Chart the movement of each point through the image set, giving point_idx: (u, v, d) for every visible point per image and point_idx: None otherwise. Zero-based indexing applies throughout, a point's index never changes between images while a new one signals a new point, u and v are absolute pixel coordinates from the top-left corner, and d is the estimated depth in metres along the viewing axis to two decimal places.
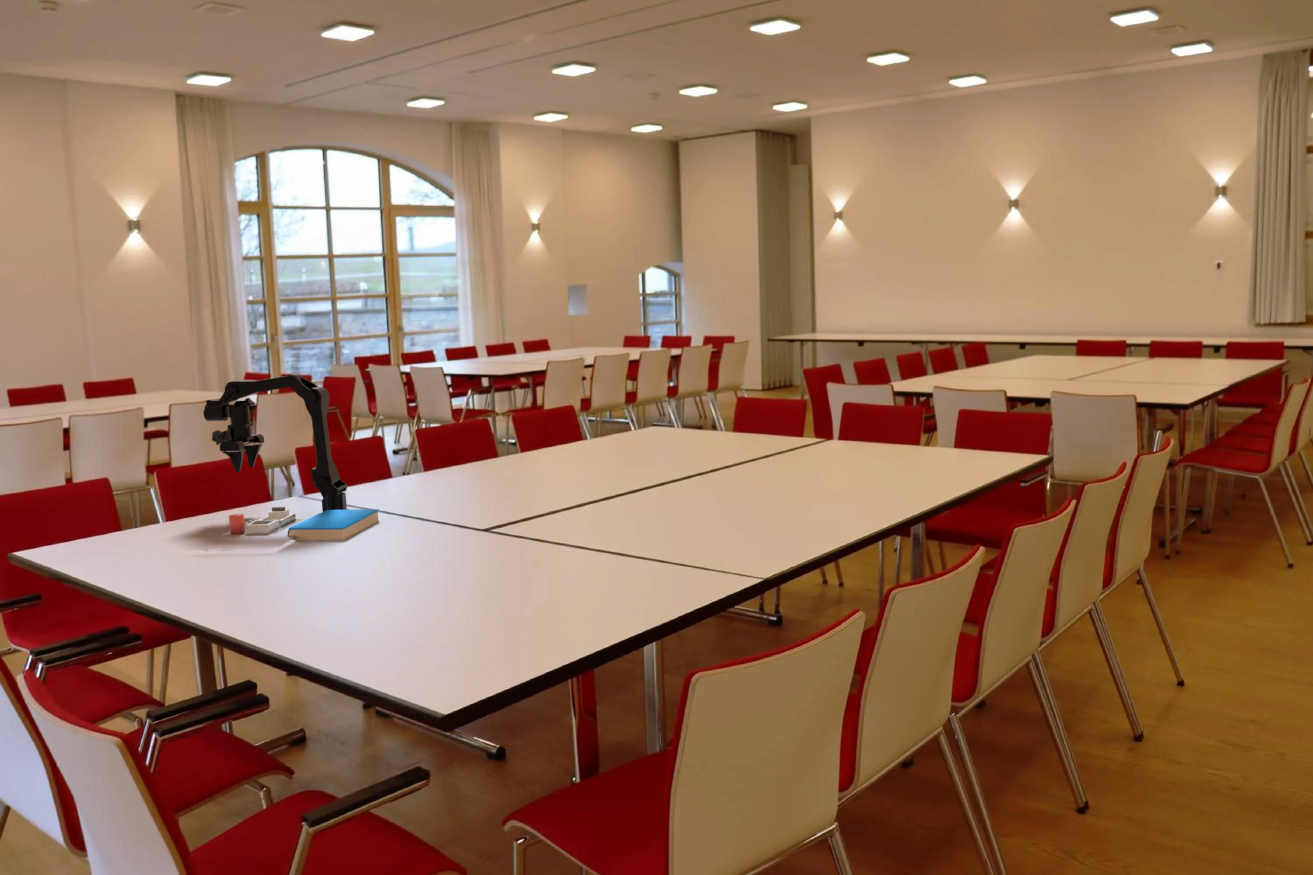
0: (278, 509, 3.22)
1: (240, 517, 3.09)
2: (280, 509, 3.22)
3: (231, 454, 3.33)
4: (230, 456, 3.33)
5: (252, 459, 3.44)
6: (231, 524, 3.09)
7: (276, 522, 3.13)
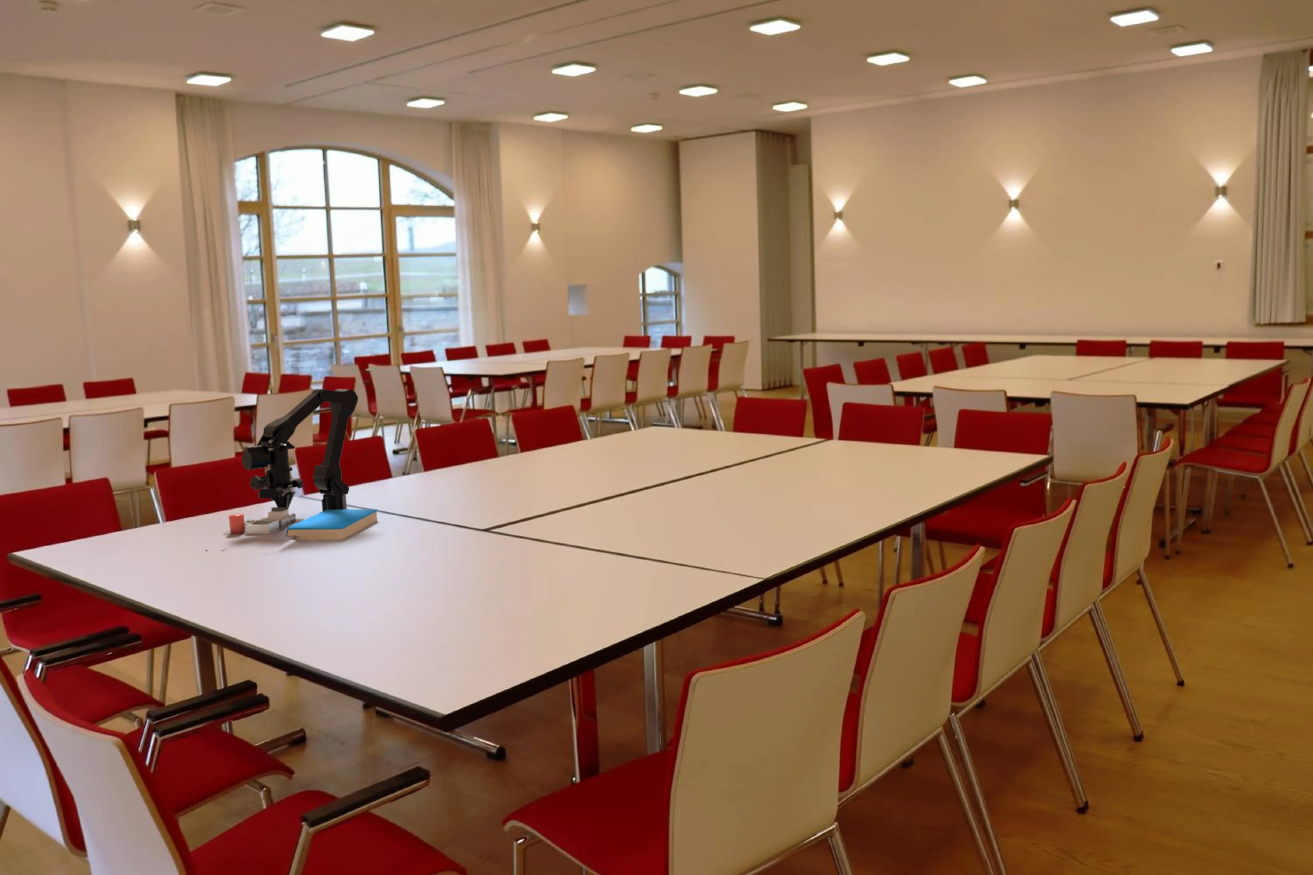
0: (278, 509, 3.21)
1: (240, 517, 3.09)
2: (280, 509, 3.21)
3: (276, 498, 3.23)
4: (275, 500, 3.23)
5: (285, 507, 3.26)
6: (231, 524, 3.09)
7: (276, 522, 3.13)
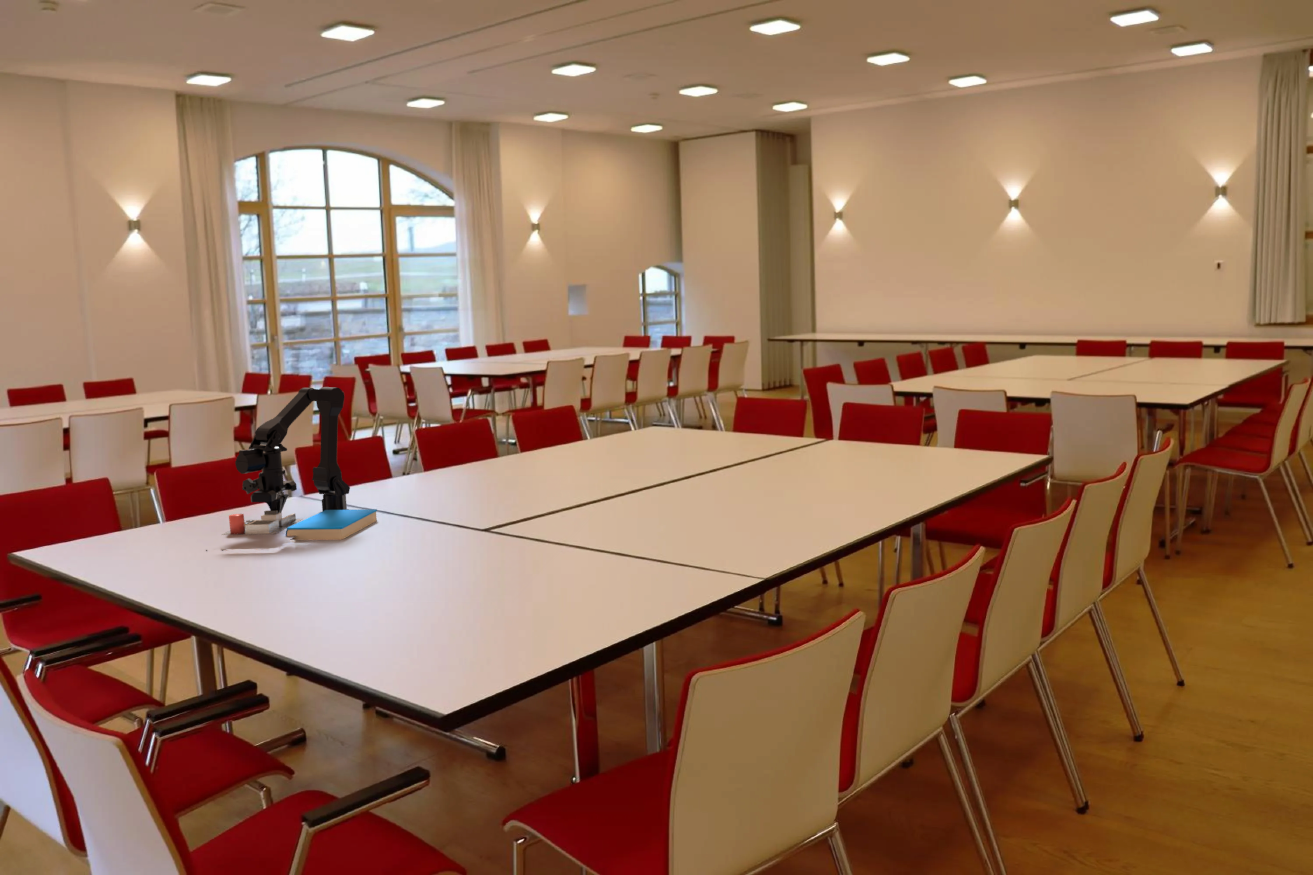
0: (271, 513, 3.17)
1: (240, 517, 3.09)
2: (273, 513, 3.17)
3: (269, 501, 3.19)
4: (268, 503, 3.19)
5: (278, 510, 3.21)
6: (231, 524, 3.09)
7: (276, 522, 3.13)
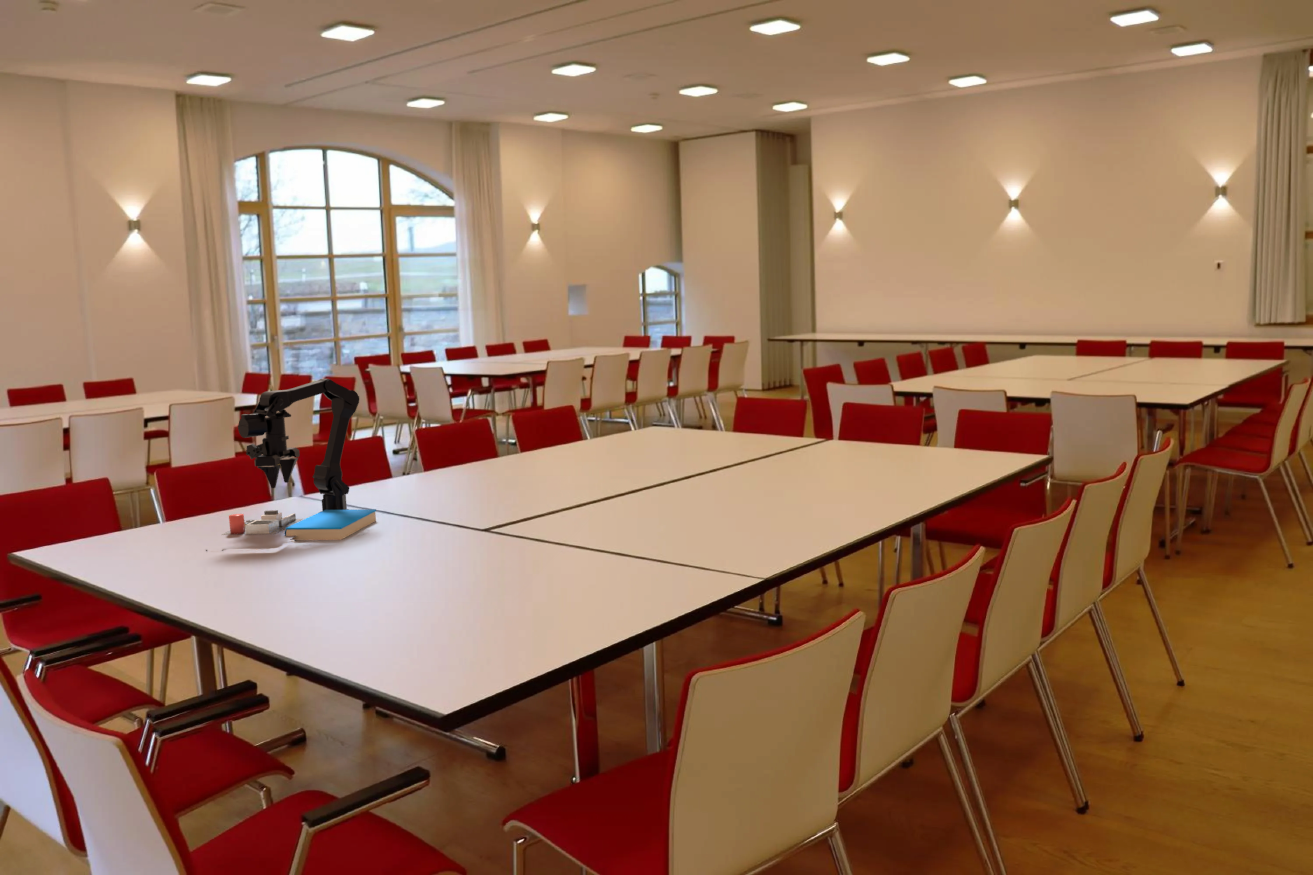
0: (271, 512, 3.17)
1: (240, 517, 3.09)
2: (273, 512, 3.17)
3: (266, 469, 3.17)
4: (265, 471, 3.17)
5: (287, 473, 3.28)
6: (231, 524, 3.09)
7: (276, 522, 3.13)
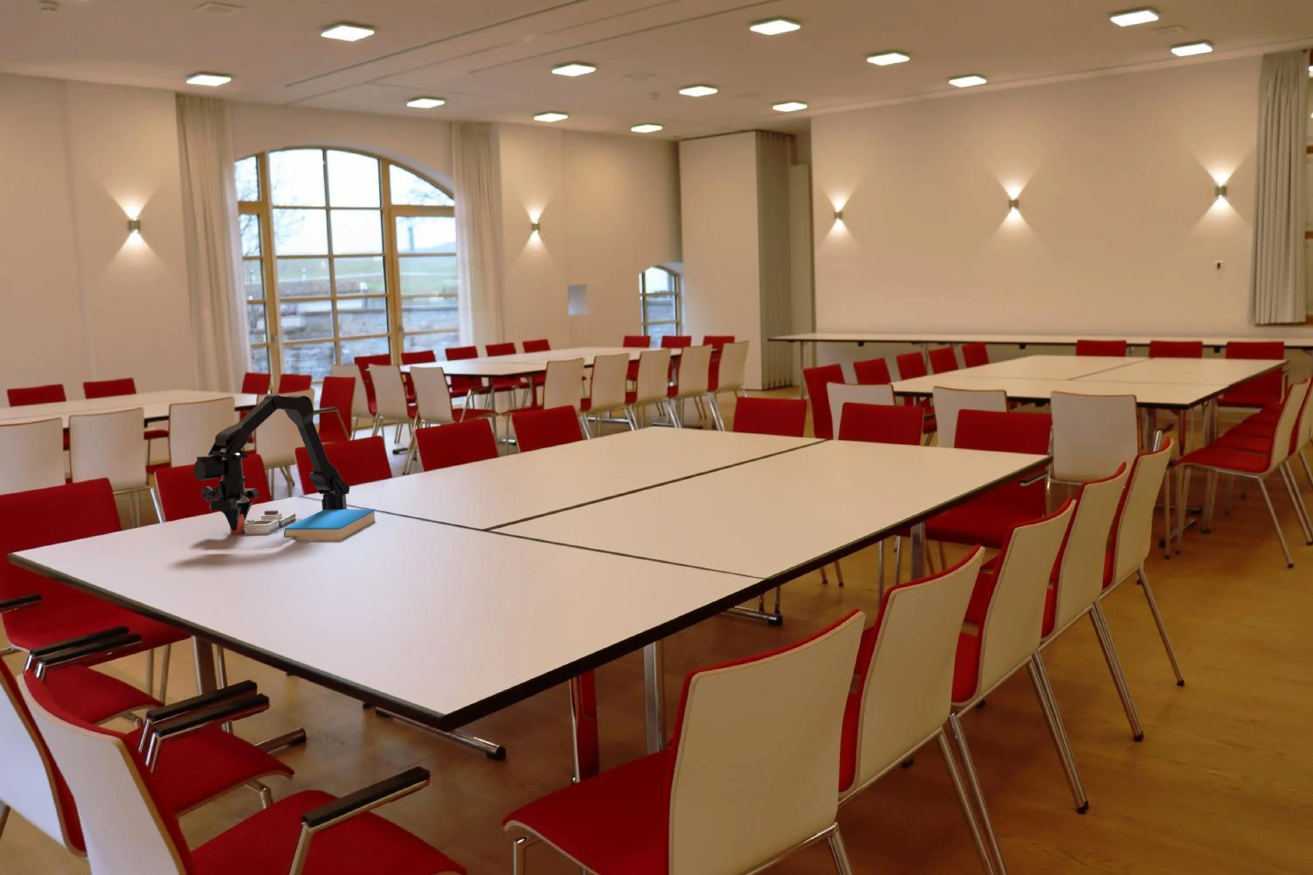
0: (271, 512, 3.17)
1: (240, 517, 3.09)
2: (273, 512, 3.17)
3: (226, 511, 3.06)
4: (225, 513, 3.06)
5: None
6: None
7: (276, 522, 3.13)
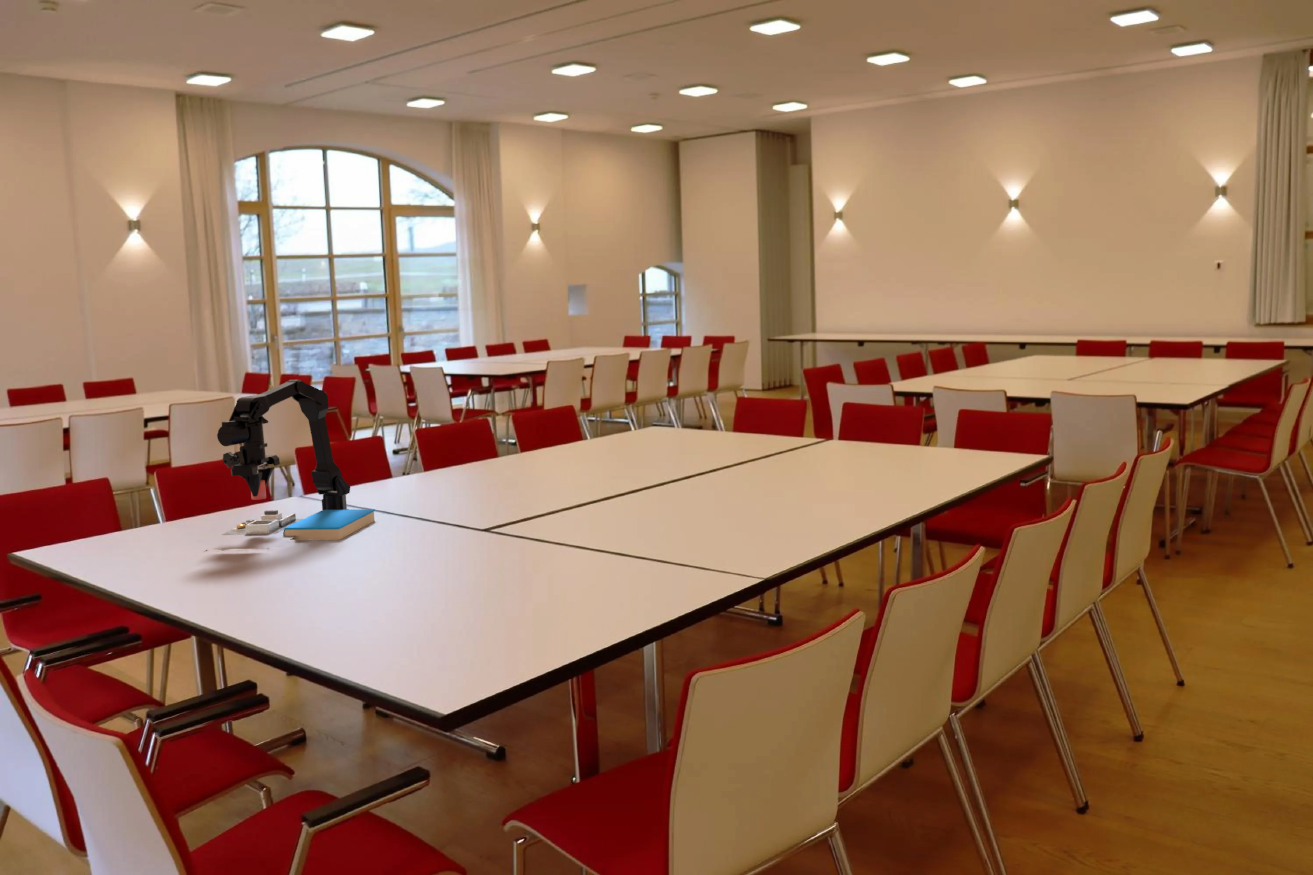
0: (271, 512, 3.17)
1: (261, 483, 3.08)
2: (273, 512, 3.17)
3: (248, 477, 3.06)
4: (247, 479, 3.06)
5: None
6: None
7: (276, 522, 3.13)
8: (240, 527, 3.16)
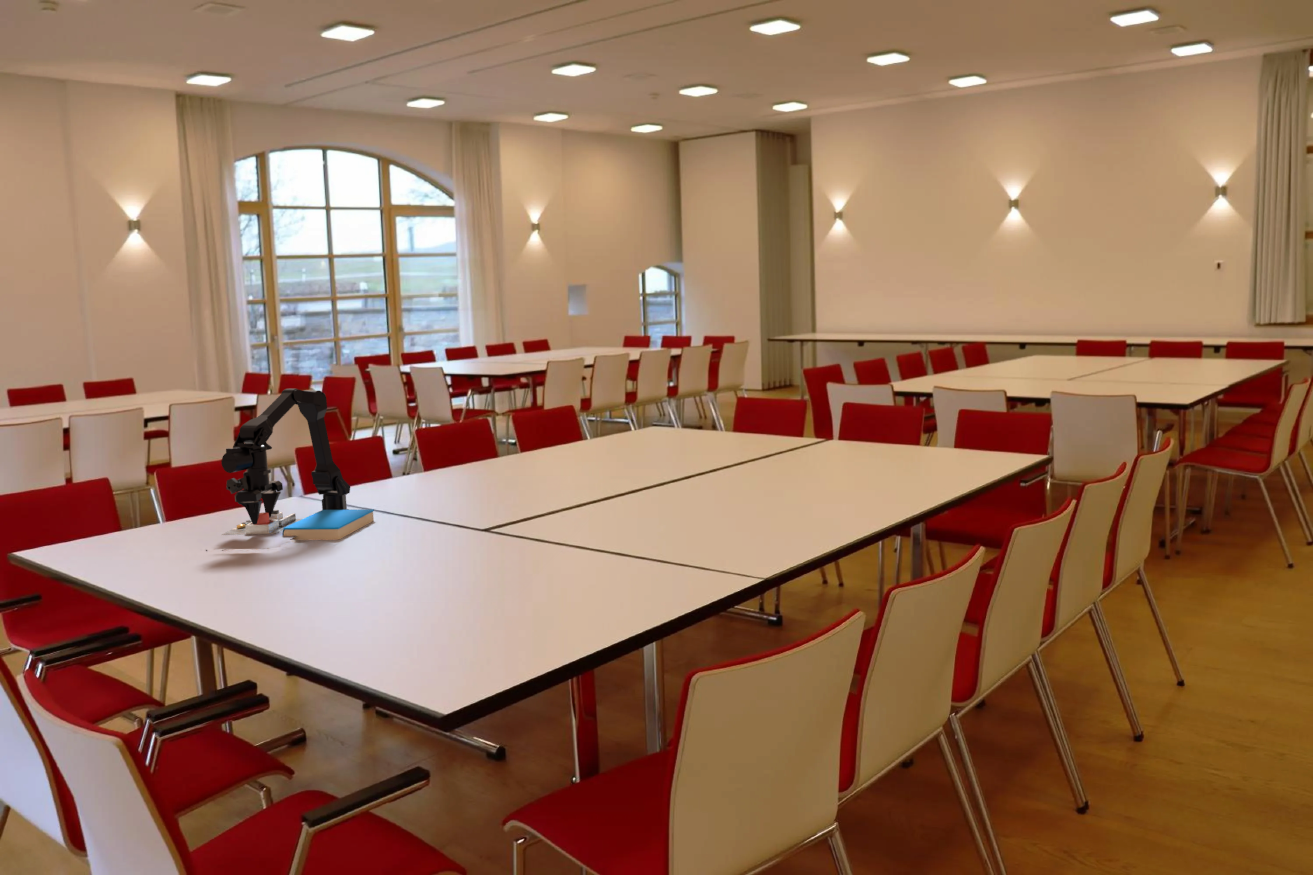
0: (272, 512, 3.17)
1: (265, 516, 3.10)
2: (274, 512, 3.17)
3: (247, 505, 3.04)
4: (246, 507, 3.04)
5: (270, 508, 3.15)
6: None
7: (276, 522, 3.13)
8: (240, 527, 3.16)
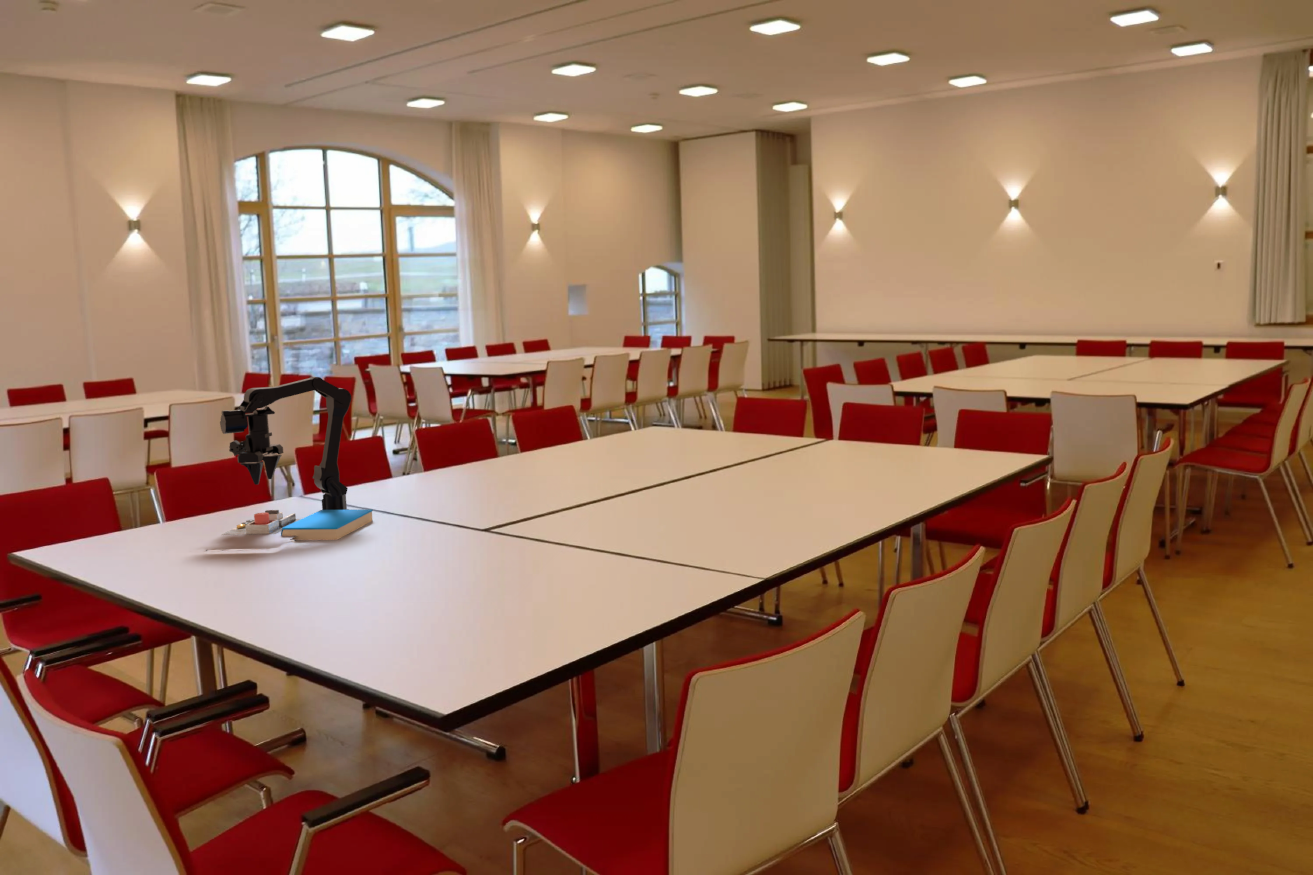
0: (272, 512, 3.17)
1: (265, 516, 3.10)
2: (274, 512, 3.17)
3: (249, 466, 3.18)
4: (248, 468, 3.18)
5: (271, 470, 3.29)
6: (256, 523, 3.09)
7: (276, 522, 3.13)
8: (240, 527, 3.16)
